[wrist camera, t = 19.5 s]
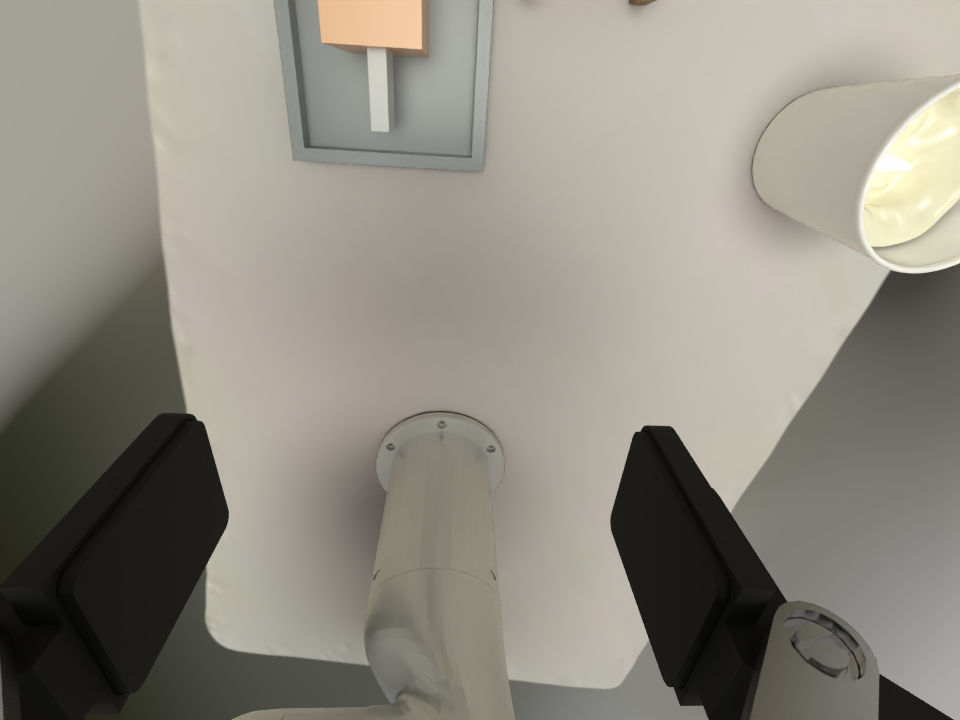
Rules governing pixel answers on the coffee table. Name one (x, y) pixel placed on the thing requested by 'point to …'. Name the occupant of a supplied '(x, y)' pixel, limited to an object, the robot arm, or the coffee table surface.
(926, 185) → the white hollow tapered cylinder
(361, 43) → the peach slab with tab
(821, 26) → the coffee table surface
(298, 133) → the tray
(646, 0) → the frame
